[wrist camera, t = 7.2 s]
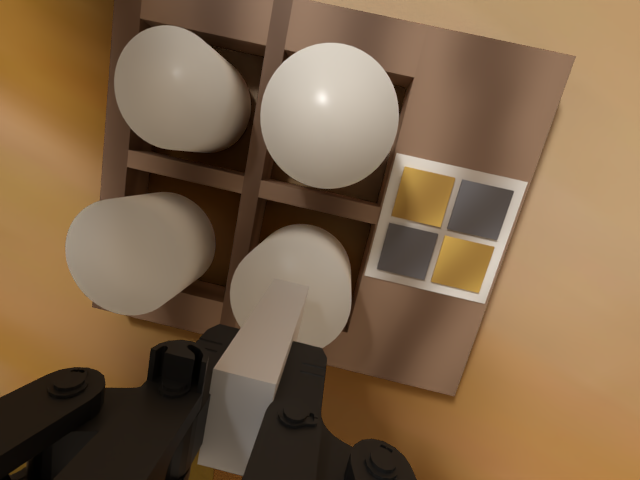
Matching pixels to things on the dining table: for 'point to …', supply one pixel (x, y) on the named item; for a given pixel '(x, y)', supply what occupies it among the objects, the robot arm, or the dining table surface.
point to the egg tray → (398, 183)
